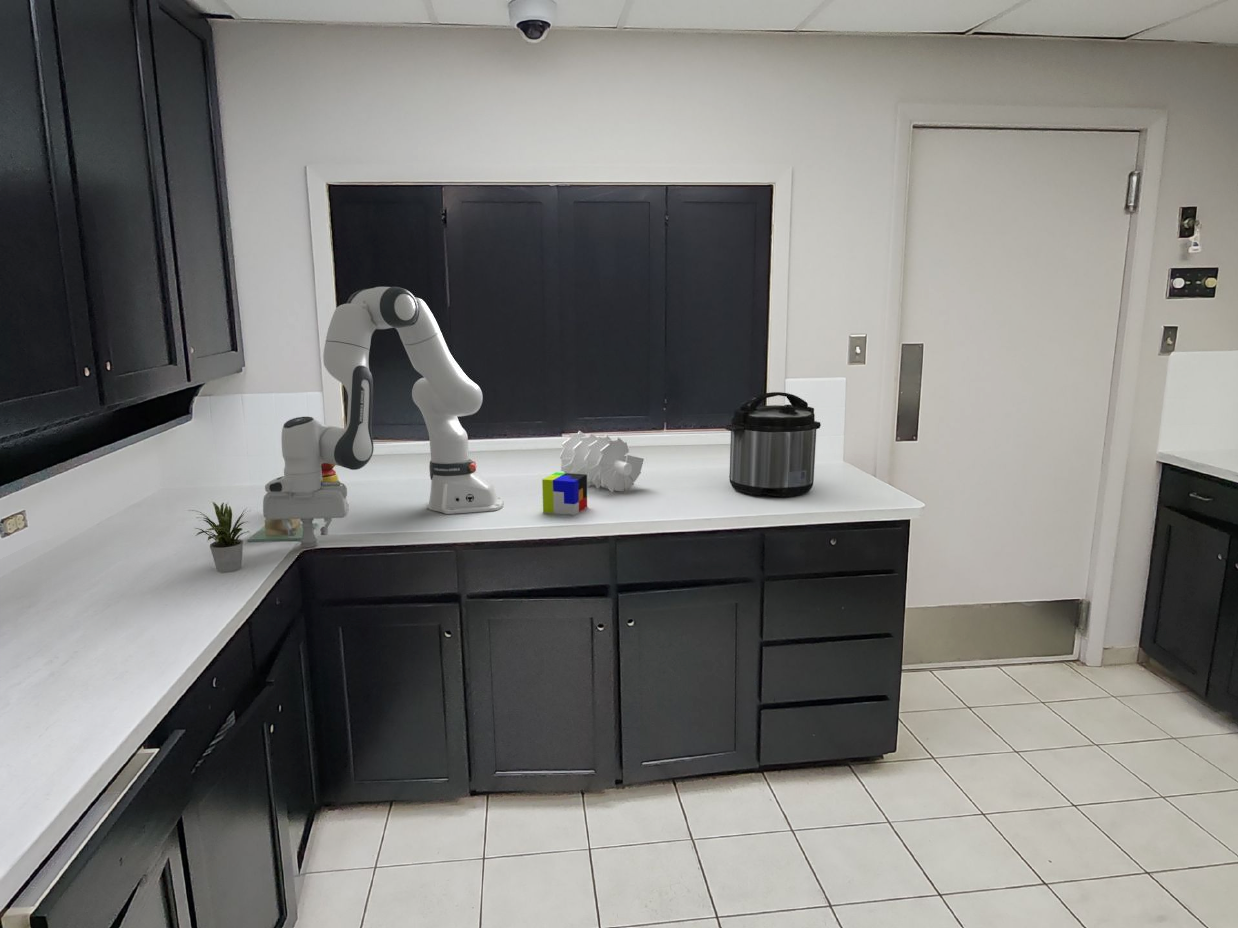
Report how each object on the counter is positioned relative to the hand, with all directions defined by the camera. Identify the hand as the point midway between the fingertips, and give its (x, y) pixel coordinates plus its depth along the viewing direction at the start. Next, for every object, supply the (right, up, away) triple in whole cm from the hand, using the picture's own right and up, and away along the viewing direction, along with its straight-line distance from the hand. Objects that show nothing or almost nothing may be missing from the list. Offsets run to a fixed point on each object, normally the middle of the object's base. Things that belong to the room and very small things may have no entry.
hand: (308, 534), depth 208 cm
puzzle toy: (+63, +4, +34) cm, 72 cm away
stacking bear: (-8, +4, +35) cm, 36 cm away
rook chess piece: (0, -3, +1) cm, 3 cm away
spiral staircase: (+73, +10, +62) cm, 96 cm away
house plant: (-14, -7, -16) cm, 22 cm away
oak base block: (-11, 0, +11) cm, 16 cm away
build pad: (-11, -1, +11) cm, 16 cm away
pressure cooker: (+128, +10, +59) cm, 141 cm away
